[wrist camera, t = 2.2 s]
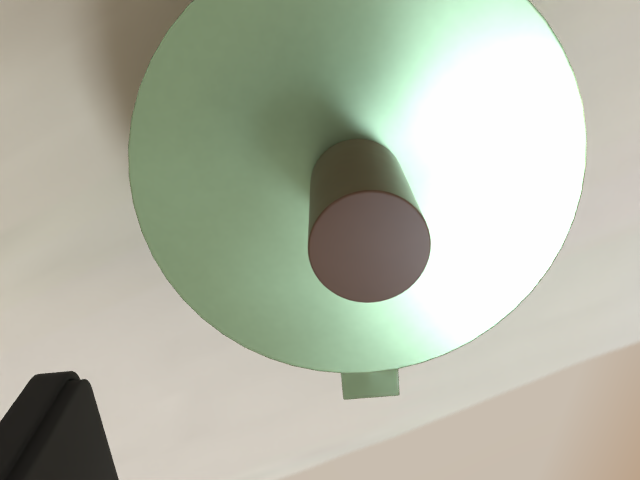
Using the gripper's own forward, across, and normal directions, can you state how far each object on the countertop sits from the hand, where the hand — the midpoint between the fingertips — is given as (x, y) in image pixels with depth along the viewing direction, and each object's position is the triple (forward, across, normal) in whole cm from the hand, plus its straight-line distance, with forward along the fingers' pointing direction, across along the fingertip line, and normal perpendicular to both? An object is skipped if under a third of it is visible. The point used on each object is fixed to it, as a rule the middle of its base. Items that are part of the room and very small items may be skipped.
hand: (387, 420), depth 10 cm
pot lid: (+13, 0, 0) cm, 13 cm away
